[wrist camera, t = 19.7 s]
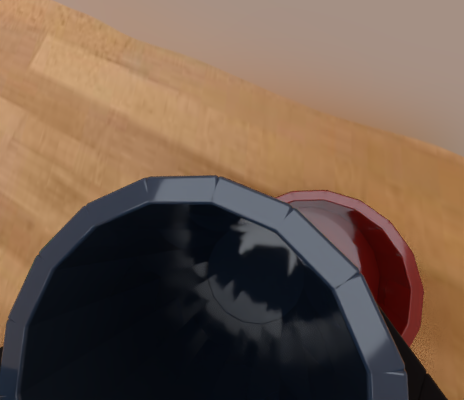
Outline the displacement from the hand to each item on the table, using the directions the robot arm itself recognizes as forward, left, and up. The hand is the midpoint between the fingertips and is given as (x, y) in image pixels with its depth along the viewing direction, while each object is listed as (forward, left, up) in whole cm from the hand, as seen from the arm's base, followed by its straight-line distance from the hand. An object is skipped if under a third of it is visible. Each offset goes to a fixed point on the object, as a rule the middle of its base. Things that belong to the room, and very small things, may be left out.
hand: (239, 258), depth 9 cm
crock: (-1, +1, -7) cm, 7 cm away
